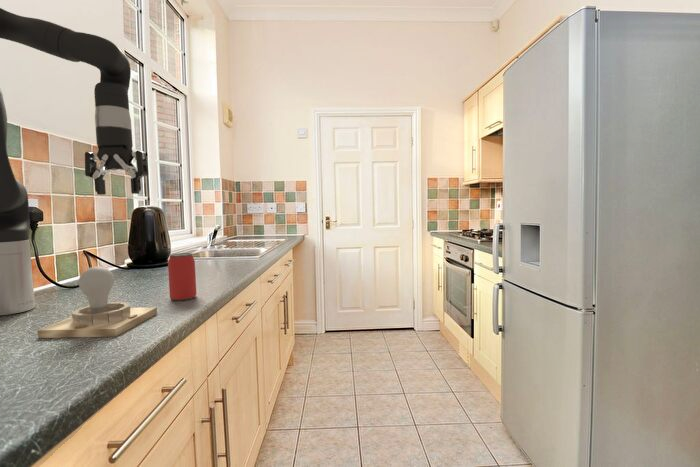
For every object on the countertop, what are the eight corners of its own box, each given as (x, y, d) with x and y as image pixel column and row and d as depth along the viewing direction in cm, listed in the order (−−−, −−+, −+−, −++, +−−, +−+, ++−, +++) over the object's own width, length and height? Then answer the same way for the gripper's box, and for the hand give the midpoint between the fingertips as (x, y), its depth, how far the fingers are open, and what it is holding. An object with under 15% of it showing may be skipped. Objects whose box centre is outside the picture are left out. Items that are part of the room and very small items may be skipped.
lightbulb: (106, 322, 75) (103, 268, 74) (74, 323, 75) (70, 269, 74) (122, 313, 81) (118, 263, 80) (92, 314, 81) (88, 264, 80)
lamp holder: (38, 337, 71) (36, 320, 71) (92, 314, 86) (91, 300, 86) (115, 336, 71) (114, 318, 71) (157, 313, 86) (156, 298, 86)
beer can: (191, 294, 105) (188, 252, 104) (200, 297, 100) (198, 253, 100) (166, 298, 100) (163, 254, 100) (175, 302, 96) (172, 256, 95)
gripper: (151, 130, 95) (154, 194, 96) (95, 131, 95) (100, 195, 96) (133, 123, 87) (138, 193, 89) (73, 125, 88) (78, 194, 89)
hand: (118, 194), depth 92 cm, fingers open, 8 cm apart
